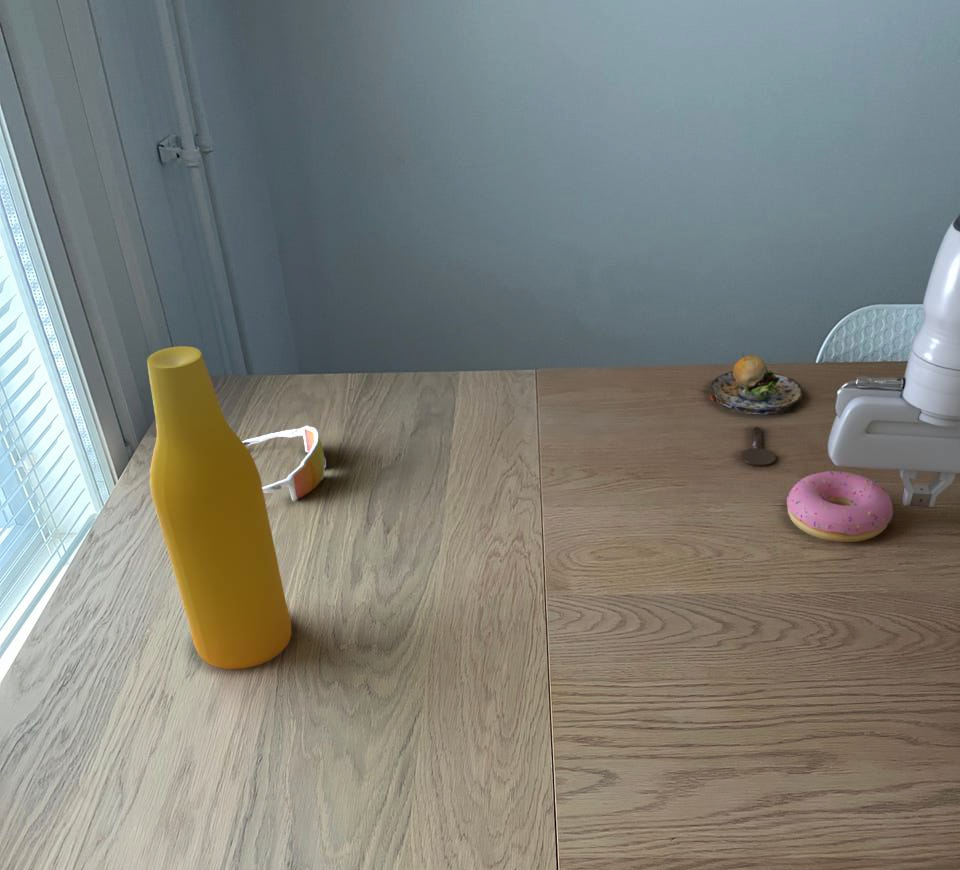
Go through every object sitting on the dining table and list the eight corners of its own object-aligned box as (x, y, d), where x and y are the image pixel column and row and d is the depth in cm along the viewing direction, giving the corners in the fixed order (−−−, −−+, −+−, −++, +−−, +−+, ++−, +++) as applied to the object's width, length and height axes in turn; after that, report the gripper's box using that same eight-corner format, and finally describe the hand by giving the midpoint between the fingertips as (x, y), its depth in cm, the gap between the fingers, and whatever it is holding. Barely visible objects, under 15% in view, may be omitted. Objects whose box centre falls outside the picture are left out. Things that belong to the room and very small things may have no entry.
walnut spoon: (772, 434, 122) (773, 426, 122) (775, 472, 115) (776, 463, 115) (739, 433, 123) (740, 424, 122) (740, 470, 116) (741, 461, 115)
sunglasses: (323, 507, 113) (311, 470, 110) (199, 528, 115) (183, 492, 112) (337, 448, 124) (325, 413, 121) (223, 468, 126) (209, 433, 123)
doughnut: (894, 506, 109) (903, 473, 106) (881, 559, 101) (890, 525, 98) (794, 488, 112) (800, 456, 110) (774, 538, 105) (780, 504, 102)
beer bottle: (313, 639, 95) (258, 351, 76) (236, 689, 90) (157, 393, 71) (253, 602, 100) (188, 324, 81) (177, 648, 94) (89, 361, 76)
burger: (804, 422, 125) (814, 366, 120) (709, 419, 126) (715, 364, 122) (796, 382, 134) (805, 328, 129) (707, 379, 135) (713, 326, 131)
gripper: (843, 389, 94) (817, 512, 103) (1074, 400, 91) (1026, 527, 100) (838, 362, 99) (813, 482, 108) (1056, 372, 96) (1012, 494, 104)
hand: (917, 503), depth 104 cm, fingers closed
